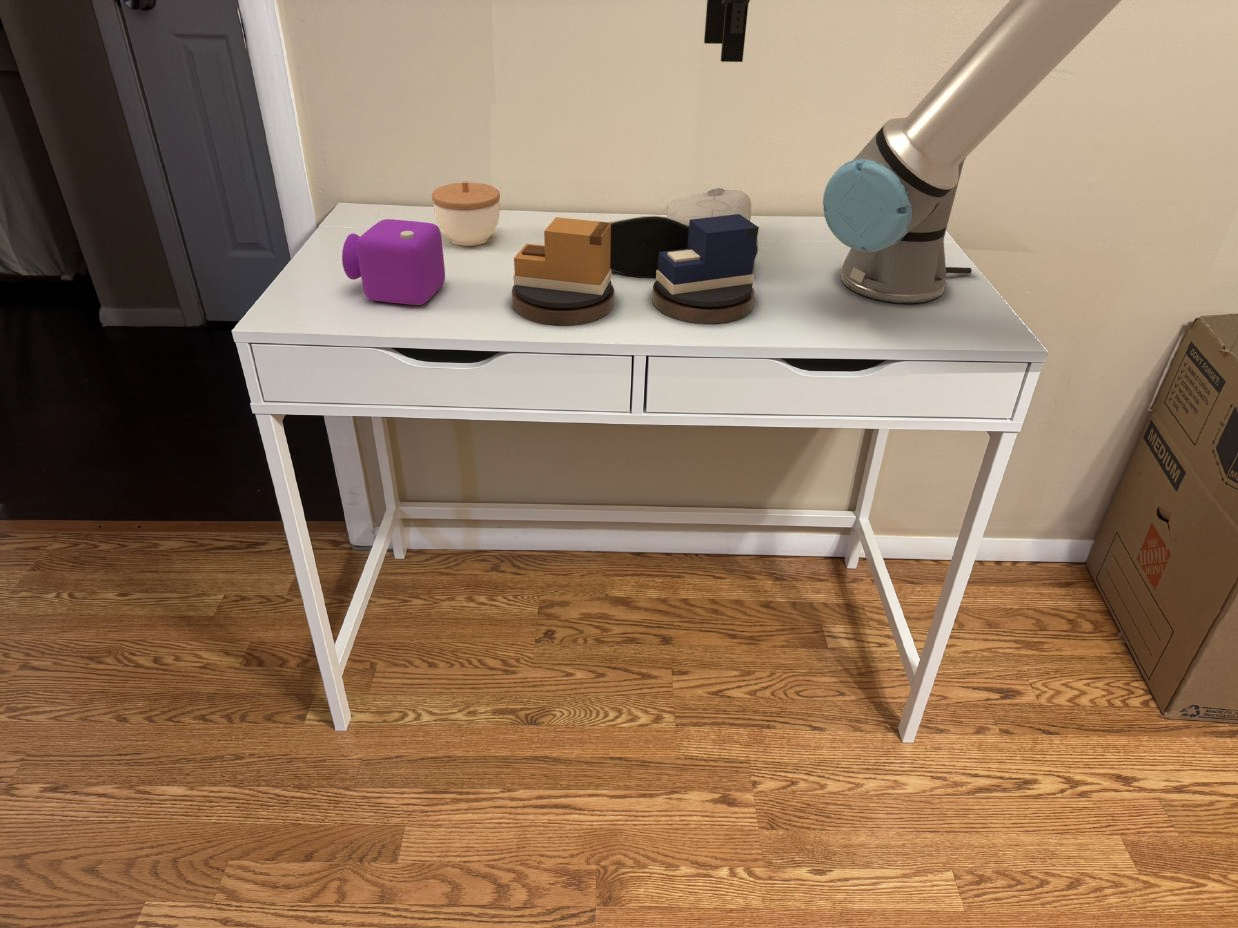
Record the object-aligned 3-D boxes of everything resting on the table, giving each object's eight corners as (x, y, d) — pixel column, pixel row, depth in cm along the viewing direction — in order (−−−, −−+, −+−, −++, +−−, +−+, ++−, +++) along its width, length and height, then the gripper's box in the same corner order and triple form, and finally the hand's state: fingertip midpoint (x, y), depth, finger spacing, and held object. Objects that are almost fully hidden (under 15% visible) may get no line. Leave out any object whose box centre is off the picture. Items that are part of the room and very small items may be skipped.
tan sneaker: (620, 274, 121) (622, 213, 116) (598, 313, 110) (599, 248, 105) (531, 264, 124) (528, 204, 118) (501, 302, 113) (497, 237, 107)
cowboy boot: (765, 235, 120) (763, 184, 140) (577, 207, 121) (602, 160, 142) (751, 296, 125) (752, 238, 146) (572, 268, 127) (597, 215, 147)
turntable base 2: (742, 281, 126) (743, 268, 125) (762, 323, 114) (764, 310, 113) (647, 282, 125) (648, 269, 124) (658, 324, 113) (659, 311, 112)
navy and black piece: (724, 263, 126) (731, 204, 120) (769, 299, 115) (778, 236, 110) (641, 274, 122) (644, 213, 116) (680, 312, 111) (684, 248, 106)
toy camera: (358, 276, 124) (346, 210, 118) (449, 278, 124) (443, 212, 118) (337, 307, 115) (324, 237, 110) (436, 309, 115) (428, 240, 110)
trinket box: (426, 235, 139) (419, 178, 133) (484, 224, 144) (480, 169, 138) (453, 256, 131) (447, 197, 126) (513, 244, 136) (510, 186, 131)
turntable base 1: (610, 282, 125) (610, 269, 124) (617, 325, 113) (617, 311, 112) (513, 282, 124) (513, 270, 122) (510, 326, 112) (510, 312, 111)
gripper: (693, -144, 109) (682, 36, 122) (726, -146, 89) (709, 69, 101) (749, -142, 110) (732, 37, 122) (795, -144, 90) (770, 70, 102)
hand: (722, 52), depth 112 cm, fingers open, 13 cm apart
